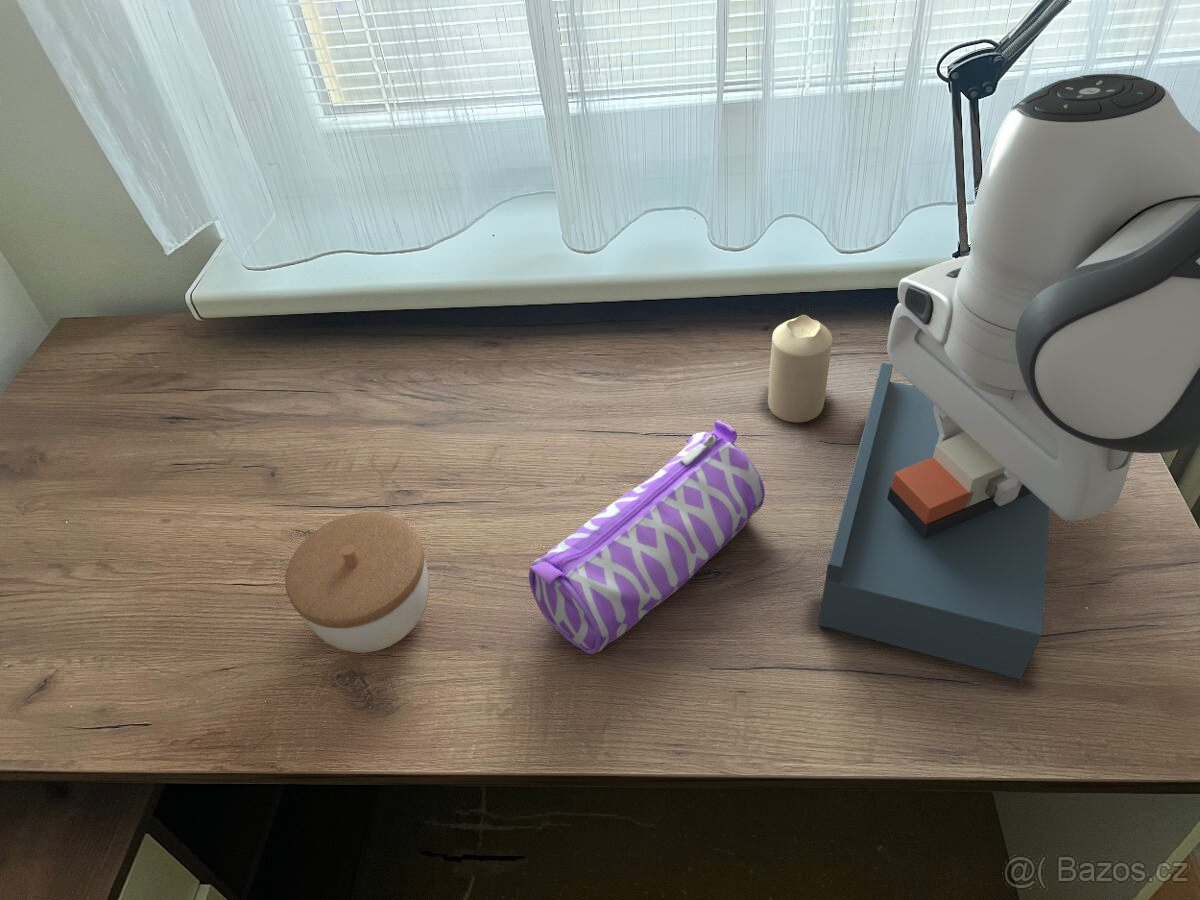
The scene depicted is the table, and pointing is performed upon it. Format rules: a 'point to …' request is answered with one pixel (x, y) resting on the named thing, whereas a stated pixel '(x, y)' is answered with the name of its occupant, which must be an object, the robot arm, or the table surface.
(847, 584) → the grey lipped base tray
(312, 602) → the trinket box
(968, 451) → the cream and orange block
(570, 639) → the pencil case
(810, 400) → the candle
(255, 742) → the table surface
